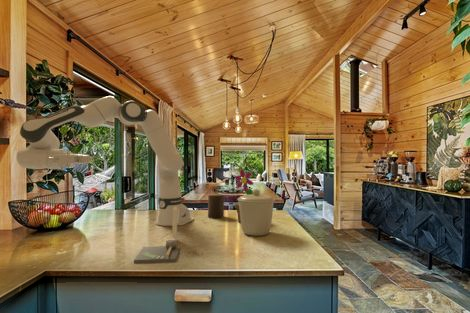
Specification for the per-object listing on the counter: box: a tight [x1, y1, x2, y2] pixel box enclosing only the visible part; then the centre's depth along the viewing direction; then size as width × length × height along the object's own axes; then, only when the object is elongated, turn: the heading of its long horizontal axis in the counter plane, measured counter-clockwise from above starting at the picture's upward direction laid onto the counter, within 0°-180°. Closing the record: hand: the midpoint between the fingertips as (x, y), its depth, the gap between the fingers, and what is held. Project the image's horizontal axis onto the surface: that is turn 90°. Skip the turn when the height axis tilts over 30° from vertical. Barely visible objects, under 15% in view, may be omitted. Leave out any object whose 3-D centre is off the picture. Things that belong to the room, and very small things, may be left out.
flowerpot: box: [234, 169, 254, 224], centre depth 155 cm, size 14×14×30 cm
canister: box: [236, 188, 276, 237], centre depth 131 cm, size 18×18×21 cm
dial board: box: [133, 245, 181, 264], centre depth 100 cm, size 14×14×1 cm
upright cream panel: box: [165, 206, 178, 257], centre depth 108 cm, size 26×4×13 cm, turn 6°
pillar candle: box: [207, 193, 225, 219], centre depth 168 cm, size 10×10×15 cm
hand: (92, 159), depth 121 cm, fingers closed
